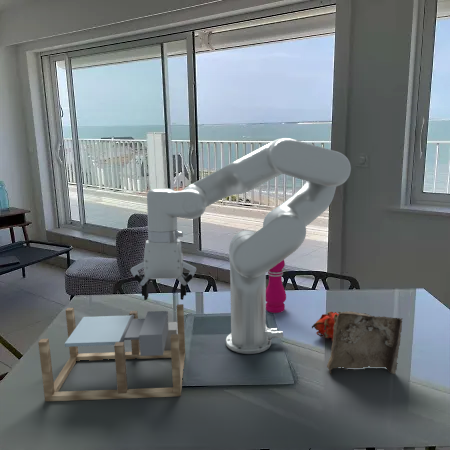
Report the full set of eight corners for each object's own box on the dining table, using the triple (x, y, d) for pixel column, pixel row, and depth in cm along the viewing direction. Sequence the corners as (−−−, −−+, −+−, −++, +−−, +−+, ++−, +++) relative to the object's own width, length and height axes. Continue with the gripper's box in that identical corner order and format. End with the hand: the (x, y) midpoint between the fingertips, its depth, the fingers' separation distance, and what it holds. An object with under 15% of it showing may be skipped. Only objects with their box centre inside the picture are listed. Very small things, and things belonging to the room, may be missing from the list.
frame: (185, 354, 110) (183, 304, 107) (180, 396, 92) (178, 337, 89) (72, 358, 109) (67, 307, 106) (45, 401, 91) (38, 342, 88)
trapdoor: (168, 327, 106) (167, 309, 105) (162, 357, 92) (161, 336, 91) (85, 330, 106) (83, 312, 105) (65, 360, 91) (63, 339, 90)
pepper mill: (271, 303, 143) (271, 247, 139) (289, 308, 139) (290, 250, 135) (260, 310, 137) (260, 252, 133) (279, 315, 133) (280, 255, 129)
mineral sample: (328, 375, 99) (330, 315, 96) (325, 366, 103) (327, 309, 100) (400, 375, 98) (404, 315, 95) (394, 366, 102) (397, 308, 99)
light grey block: (178, 341, 117) (177, 321, 116) (177, 350, 112) (176, 329, 111) (160, 342, 117) (159, 322, 116) (158, 351, 112) (157, 330, 111)
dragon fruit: (358, 346, 116) (314, 349, 118) (352, 319, 122) (311, 323, 124) (358, 331, 110) (312, 335, 112) (352, 303, 115) (309, 308, 118)
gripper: (196, 232, 112) (196, 292, 116) (132, 233, 112) (134, 293, 115) (195, 239, 105) (196, 303, 108) (126, 239, 104) (129, 303, 108)
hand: (164, 298), depth 112 cm, fingers open, 9 cm apart
